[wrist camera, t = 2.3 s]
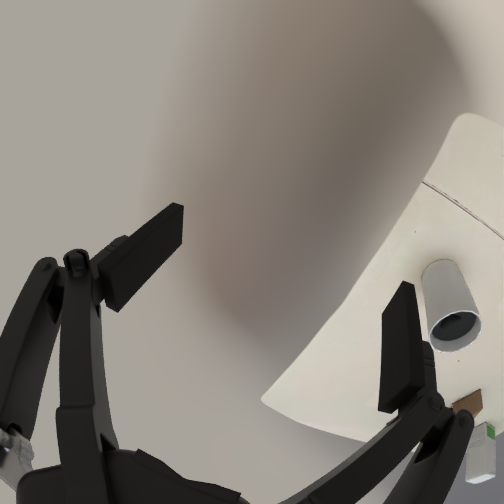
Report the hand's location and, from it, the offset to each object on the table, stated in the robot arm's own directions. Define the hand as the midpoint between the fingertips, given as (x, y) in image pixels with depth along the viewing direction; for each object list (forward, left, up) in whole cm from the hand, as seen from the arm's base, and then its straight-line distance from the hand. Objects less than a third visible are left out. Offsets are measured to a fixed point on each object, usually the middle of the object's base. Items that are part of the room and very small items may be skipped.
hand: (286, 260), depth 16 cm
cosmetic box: (+46, +63, -19) cm, 81 cm away
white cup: (+8, +19, -19) cm, 28 cm away
